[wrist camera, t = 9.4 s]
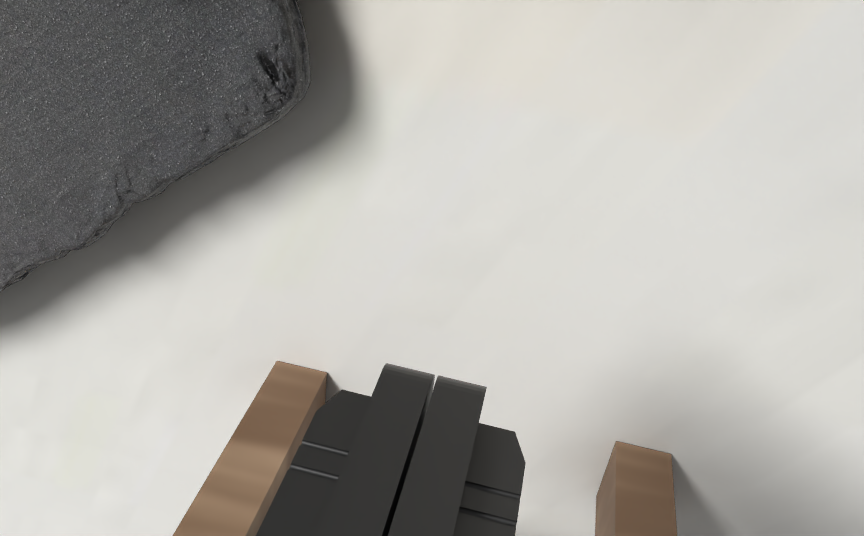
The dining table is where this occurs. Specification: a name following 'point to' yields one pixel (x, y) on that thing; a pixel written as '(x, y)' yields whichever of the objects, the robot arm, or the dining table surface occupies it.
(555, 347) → the dining table surface
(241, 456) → the bridge
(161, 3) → the serving board
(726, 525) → the dining table surface
